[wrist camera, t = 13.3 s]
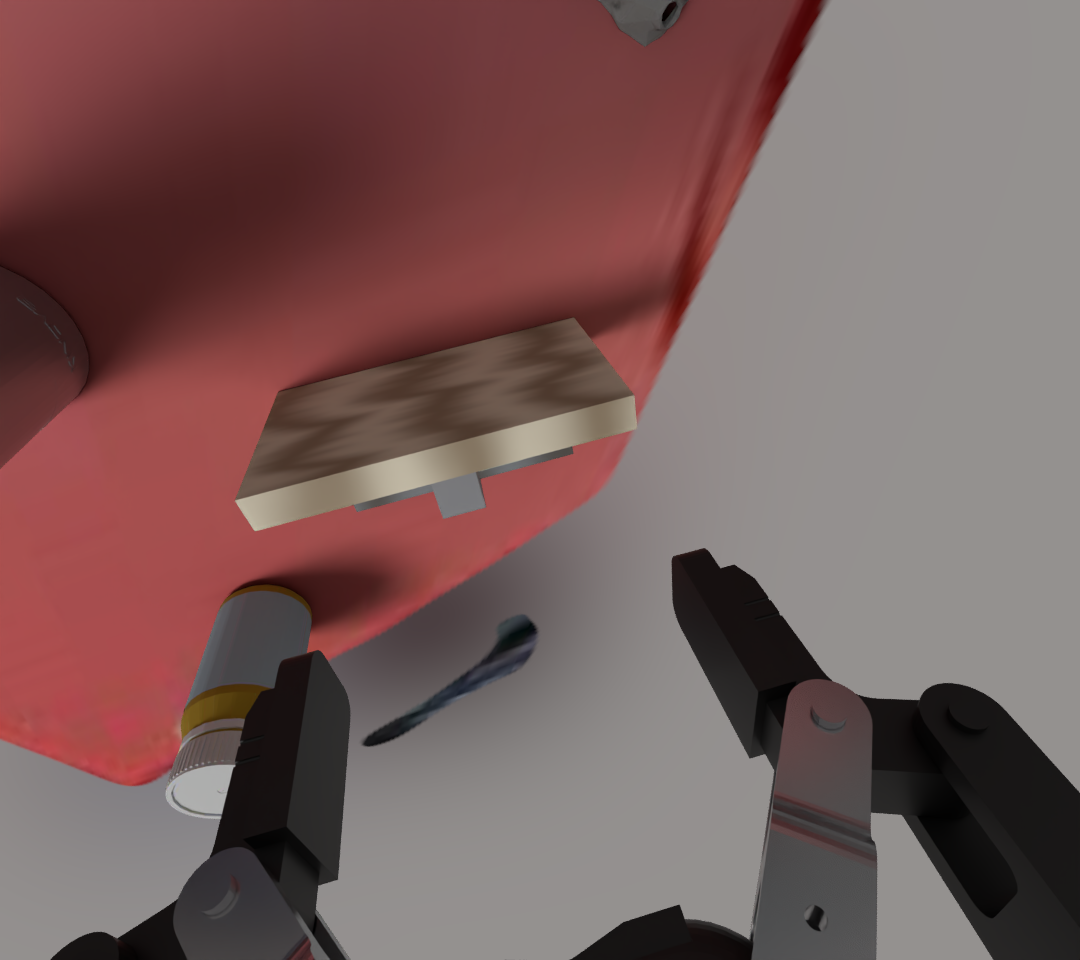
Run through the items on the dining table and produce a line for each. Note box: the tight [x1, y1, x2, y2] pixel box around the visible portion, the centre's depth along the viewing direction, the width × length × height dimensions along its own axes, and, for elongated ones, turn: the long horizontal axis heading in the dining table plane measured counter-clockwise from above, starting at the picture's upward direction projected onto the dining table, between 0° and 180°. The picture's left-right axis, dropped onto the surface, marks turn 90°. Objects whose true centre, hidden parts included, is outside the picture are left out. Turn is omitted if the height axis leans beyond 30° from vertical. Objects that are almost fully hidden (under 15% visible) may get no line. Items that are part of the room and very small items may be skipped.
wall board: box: [235, 317, 637, 531], centre depth 35 cm, size 20×9×12 cm, turn 100°
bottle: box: [166, 584, 312, 819], centre depth 41 cm, size 7×7×15 cm
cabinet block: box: [431, 460, 521, 519], centre depth 35 cm, size 8×4×10 cm, turn 100°
